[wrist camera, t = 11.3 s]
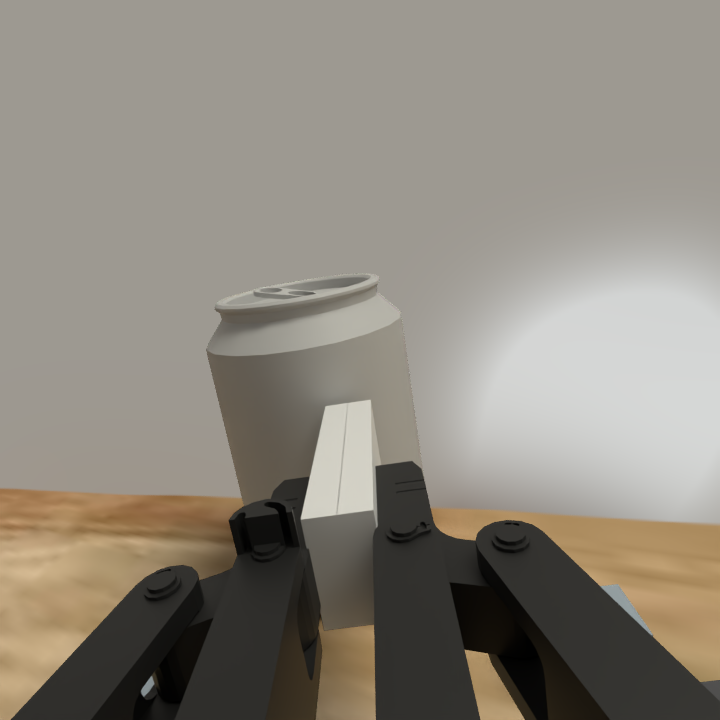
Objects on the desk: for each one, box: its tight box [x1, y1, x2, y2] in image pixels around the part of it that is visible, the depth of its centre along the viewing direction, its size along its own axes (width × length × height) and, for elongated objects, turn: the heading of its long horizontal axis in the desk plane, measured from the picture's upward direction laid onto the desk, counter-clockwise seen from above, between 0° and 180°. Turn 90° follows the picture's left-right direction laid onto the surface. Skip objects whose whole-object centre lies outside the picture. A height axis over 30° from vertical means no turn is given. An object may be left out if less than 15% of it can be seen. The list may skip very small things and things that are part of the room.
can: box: [206, 274, 424, 506], centre depth 21 cm, size 8×8×12 cm
